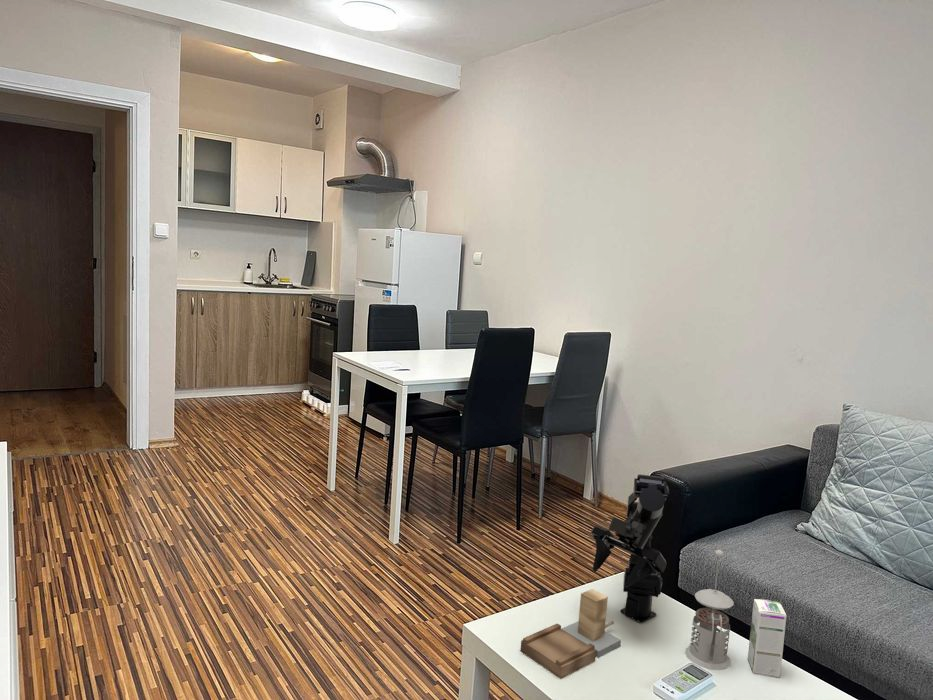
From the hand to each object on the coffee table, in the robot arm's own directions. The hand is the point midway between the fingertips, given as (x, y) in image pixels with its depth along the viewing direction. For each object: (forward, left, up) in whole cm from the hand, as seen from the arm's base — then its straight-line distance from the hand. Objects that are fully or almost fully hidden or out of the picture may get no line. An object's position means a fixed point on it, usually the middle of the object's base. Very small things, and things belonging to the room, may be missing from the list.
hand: (609, 578), depth 155 cm
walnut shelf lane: (+16, 0, -14) cm, 21 cm away
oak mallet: (+2, 0, -12) cm, 12 cm away
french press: (-11, +20, -14) cm, 27 cm away
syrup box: (-18, +29, -14) cm, 37 cm away
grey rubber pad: (+5, 0, -14) cm, 14 cm away
